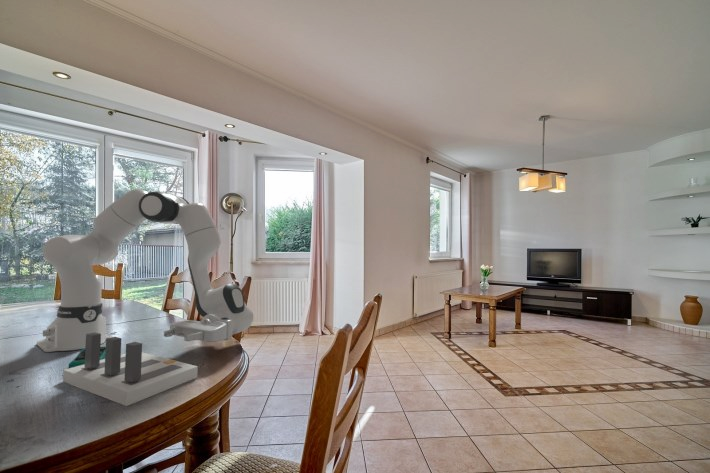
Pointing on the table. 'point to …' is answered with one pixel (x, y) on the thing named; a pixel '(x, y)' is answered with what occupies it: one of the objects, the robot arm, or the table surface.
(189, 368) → the box
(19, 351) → the table surface
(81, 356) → the digital multimeter
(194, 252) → the robot arm
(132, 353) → the handle
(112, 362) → the post
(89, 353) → the handle
